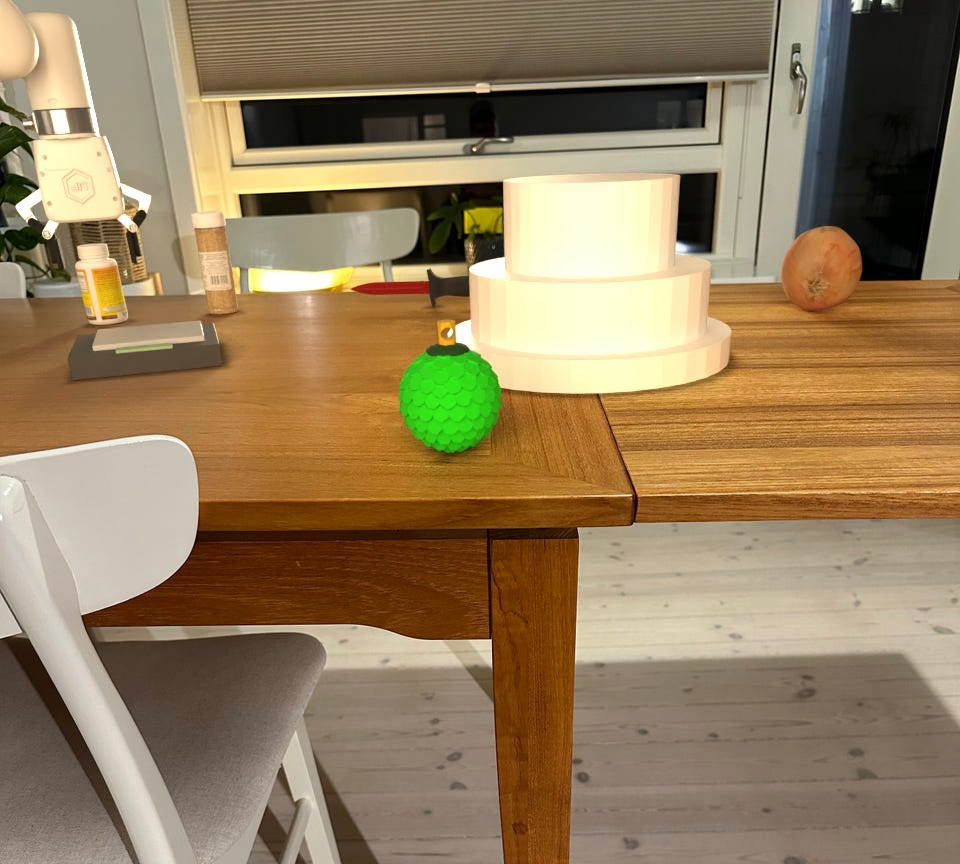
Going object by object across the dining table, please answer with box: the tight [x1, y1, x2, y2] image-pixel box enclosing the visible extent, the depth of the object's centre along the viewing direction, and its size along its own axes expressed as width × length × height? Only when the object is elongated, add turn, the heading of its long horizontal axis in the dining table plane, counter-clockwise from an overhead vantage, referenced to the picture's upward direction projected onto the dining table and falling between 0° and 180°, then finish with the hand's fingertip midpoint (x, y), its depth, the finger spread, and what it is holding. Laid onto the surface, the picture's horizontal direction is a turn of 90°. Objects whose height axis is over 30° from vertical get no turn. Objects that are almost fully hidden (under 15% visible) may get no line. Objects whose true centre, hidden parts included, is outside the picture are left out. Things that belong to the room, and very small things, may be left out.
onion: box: [780, 225, 863, 312], centre depth 121 cm, size 10×10×10 cm
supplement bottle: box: [74, 243, 129, 326], centre depth 133 cm, size 6×6×10 cm
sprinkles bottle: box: [190, 210, 240, 315], centre depth 136 cm, size 5×5×14 cm
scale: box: [67, 320, 224, 381], centre depth 111 cm, size 16×14×3 cm
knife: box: [349, 268, 470, 307], centre depth 136 cm, size 24×2×5 cm, turn 84°
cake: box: [447, 172, 732, 395], centre depth 99 cm, size 30×30×18 cm
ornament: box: [397, 319, 503, 453], centre depth 74 cm, size 8×8×10 cm
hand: (99, 265), depth 132 cm, fingers open, 9 cm apart
